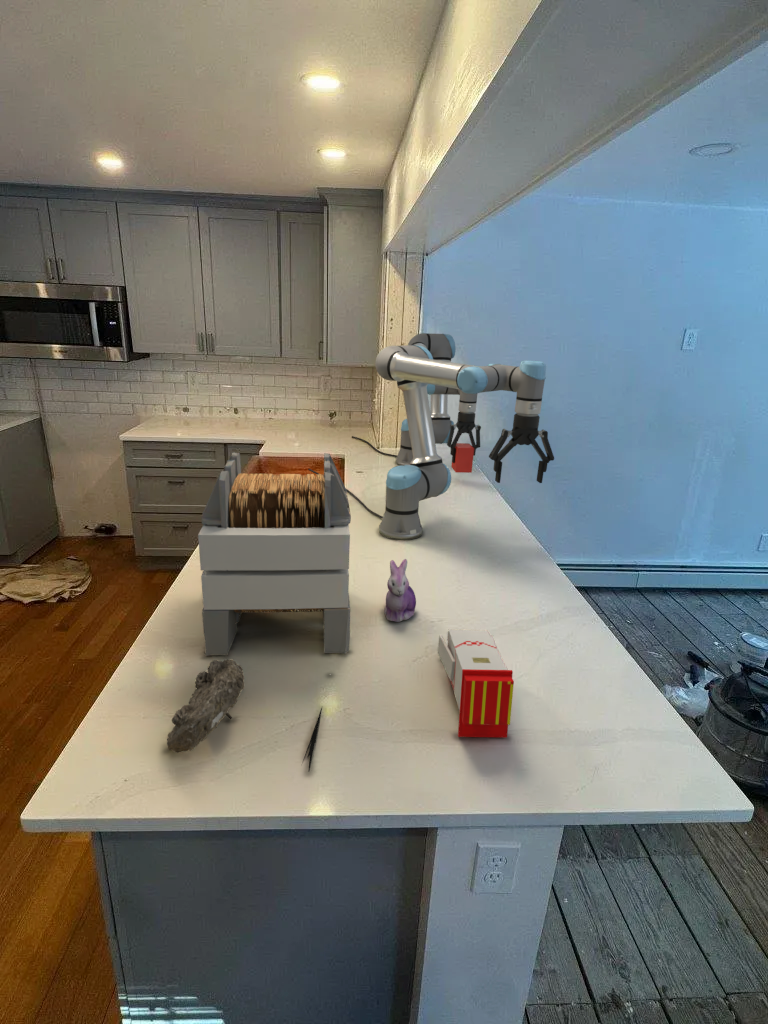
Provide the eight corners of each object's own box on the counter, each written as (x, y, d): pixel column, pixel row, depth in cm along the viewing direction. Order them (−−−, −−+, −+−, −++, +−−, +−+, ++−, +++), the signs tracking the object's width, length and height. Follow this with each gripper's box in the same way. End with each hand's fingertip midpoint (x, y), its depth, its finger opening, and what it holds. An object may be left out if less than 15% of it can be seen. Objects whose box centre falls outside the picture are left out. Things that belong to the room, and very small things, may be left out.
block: (455, 472, 253) (457, 447, 249) (451, 467, 261) (453, 443, 257) (471, 472, 254) (474, 448, 250) (466, 467, 262) (469, 443, 258)
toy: (488, 613, 130) (523, 677, 101) (484, 667, 133) (517, 744, 104) (435, 612, 130) (455, 676, 101) (432, 666, 133) (451, 743, 103)
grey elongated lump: (192, 660, 117) (244, 628, 112) (224, 691, 120) (276, 661, 115) (142, 746, 98) (202, 712, 93) (182, 779, 101) (242, 748, 96)
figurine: (392, 627, 141) (395, 572, 136) (374, 608, 149) (376, 556, 144) (425, 619, 145) (429, 566, 140) (405, 601, 154) (408, 550, 149)
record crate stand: (226, 586, 157) (217, 442, 143) (344, 585, 161) (346, 445, 147) (202, 658, 125) (189, 482, 112) (350, 654, 129) (354, 483, 115)
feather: (331, 679, 122) (336, 673, 122) (307, 777, 96) (313, 769, 95) (324, 675, 122) (329, 669, 121) (298, 772, 95) (304, 764, 95)
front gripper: (490, 415, 165) (483, 485, 172) (571, 417, 169) (561, 485, 176) (483, 411, 172) (476, 478, 179) (561, 412, 176) (551, 478, 183)
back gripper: (446, 413, 244) (441, 464, 252) (491, 414, 246) (486, 464, 254) (442, 409, 251) (438, 459, 259) (486, 410, 253) (481, 460, 261)
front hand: (518, 481), depth 178 cm, fingers open, 13 cm apart
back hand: (461, 462), depth 257 cm, fingers closed on block, 7 cm apart
